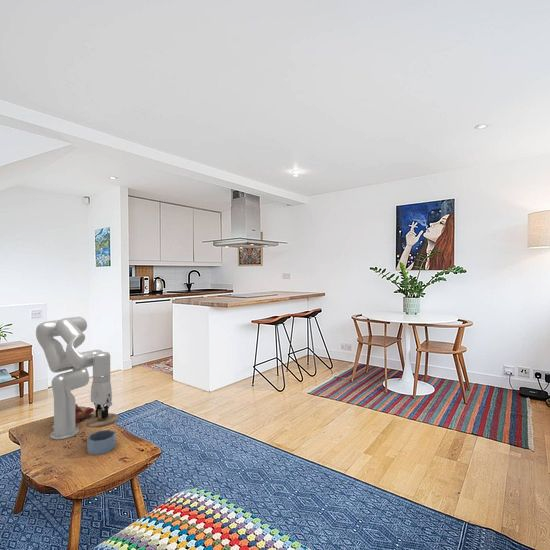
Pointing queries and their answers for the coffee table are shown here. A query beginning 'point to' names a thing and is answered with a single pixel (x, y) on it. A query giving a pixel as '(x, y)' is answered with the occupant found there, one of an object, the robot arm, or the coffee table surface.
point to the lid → (101, 420)
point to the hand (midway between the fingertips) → (102, 416)
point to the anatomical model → (81, 412)
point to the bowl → (101, 442)
